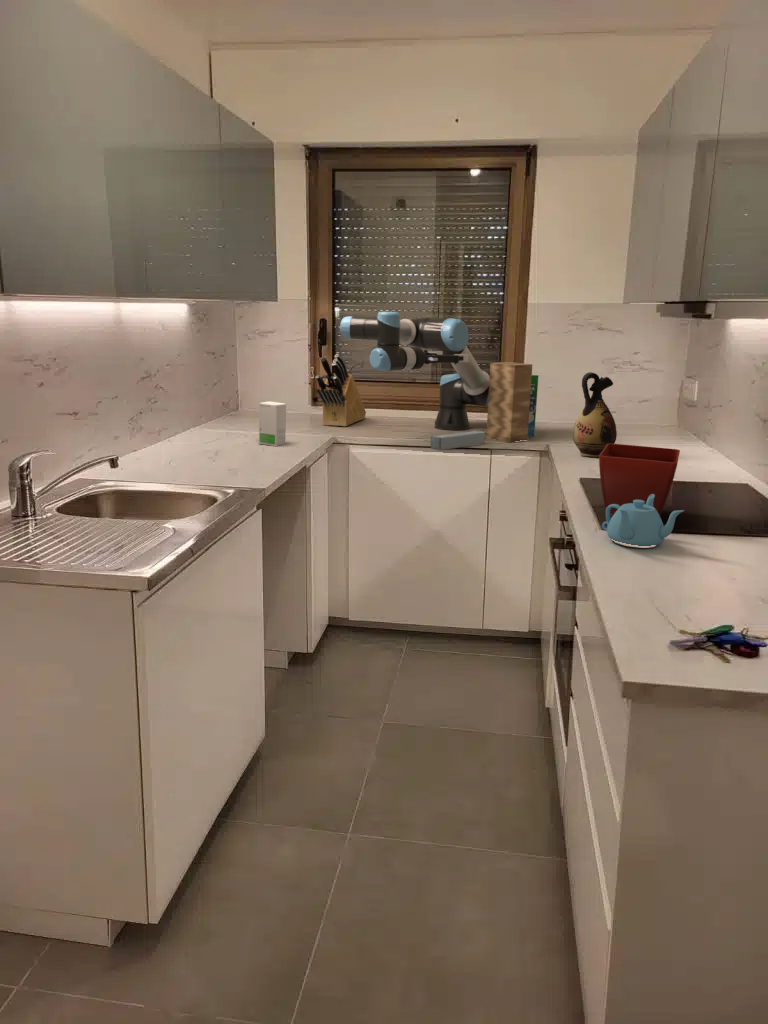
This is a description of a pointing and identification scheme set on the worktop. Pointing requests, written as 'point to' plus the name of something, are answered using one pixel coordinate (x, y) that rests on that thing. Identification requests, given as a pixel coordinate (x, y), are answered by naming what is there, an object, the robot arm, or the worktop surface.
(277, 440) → the skincare box
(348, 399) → the knife block
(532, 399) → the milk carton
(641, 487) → the plant pot
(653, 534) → the teapot
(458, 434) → the foil box
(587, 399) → the ceramic jug
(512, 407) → the oak box
